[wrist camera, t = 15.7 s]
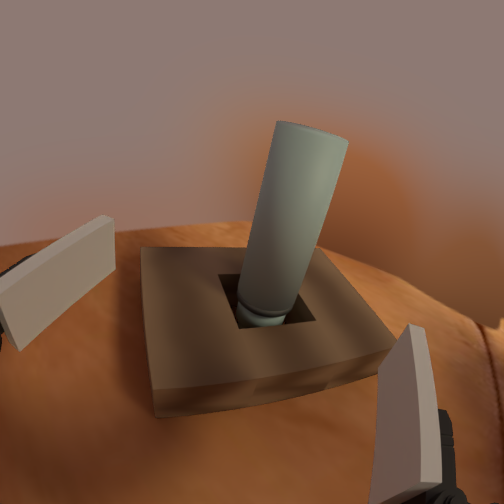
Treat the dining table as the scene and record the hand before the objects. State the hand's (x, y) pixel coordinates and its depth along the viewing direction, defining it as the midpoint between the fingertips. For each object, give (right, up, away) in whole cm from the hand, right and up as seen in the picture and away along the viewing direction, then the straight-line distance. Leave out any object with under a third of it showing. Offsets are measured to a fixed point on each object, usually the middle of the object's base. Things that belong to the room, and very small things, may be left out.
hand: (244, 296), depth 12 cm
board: (+1, -5, +13) cm, 13 cm away
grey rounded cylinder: (+1, -5, +13) cm, 13 cm away
